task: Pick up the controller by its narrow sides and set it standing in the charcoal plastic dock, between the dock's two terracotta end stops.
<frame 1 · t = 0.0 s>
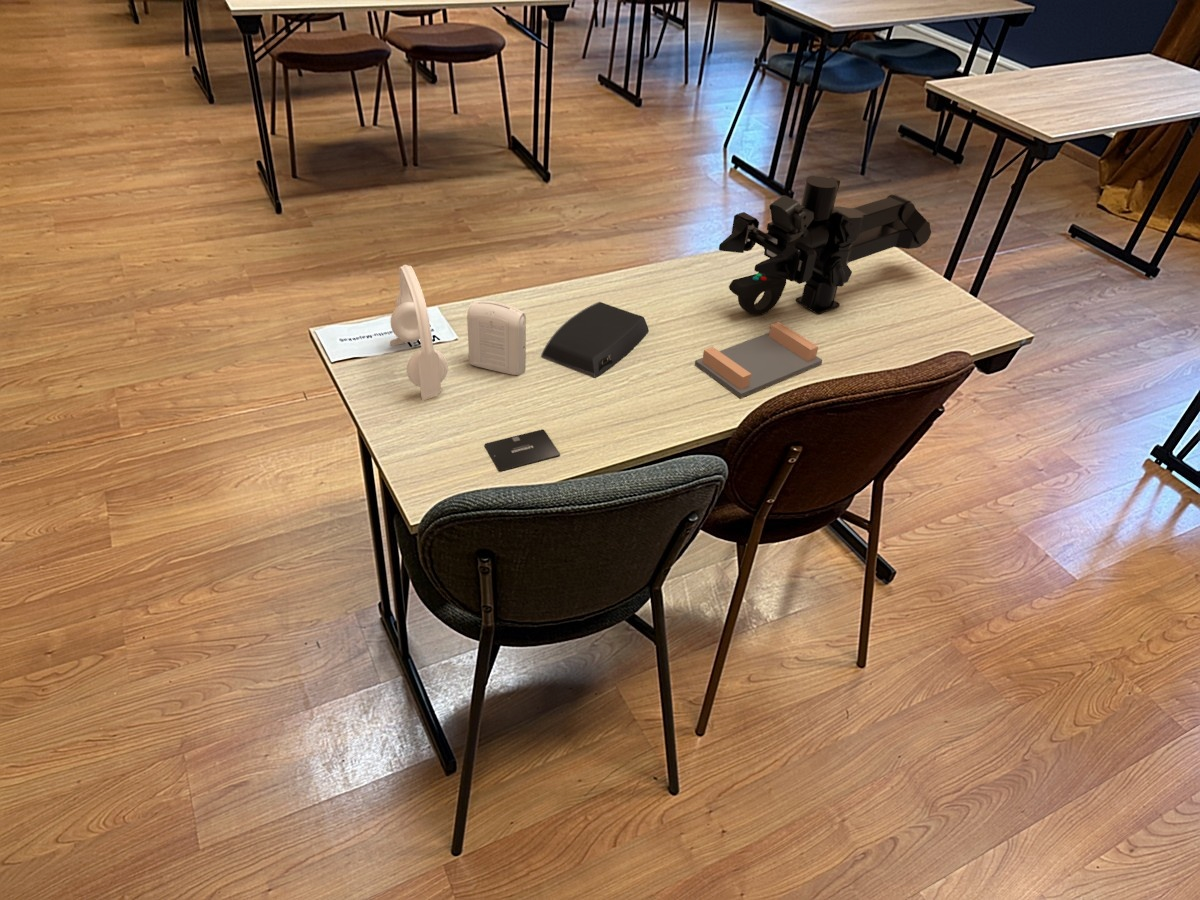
hand: (737, 257, 147), 17 cm above the table, tool horizontal, fingers open, 9 cm apart
controller: (752, 314, 165), on the table
photo printer: (497, 367, 147), on the table
headset: (420, 370, 145), on the table
external hard drive: (596, 346, 154), on the table
solid state drive: (522, 453, 130), on the table
dock: (758, 364, 151), on the table
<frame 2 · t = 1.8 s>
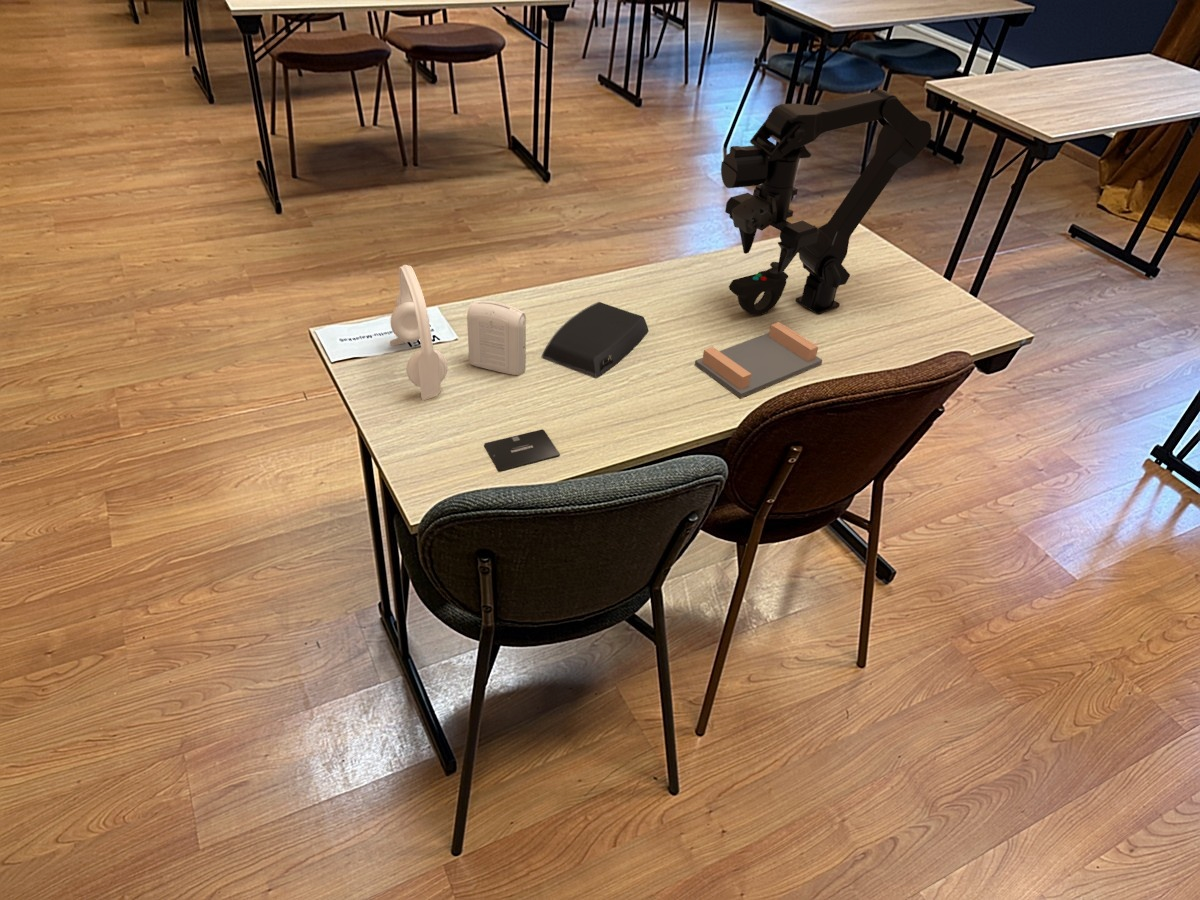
hand: (763, 262, 158), 11 cm above the table, tool pointing down, fingers open, 9 cm apart
nothing on the table moved.
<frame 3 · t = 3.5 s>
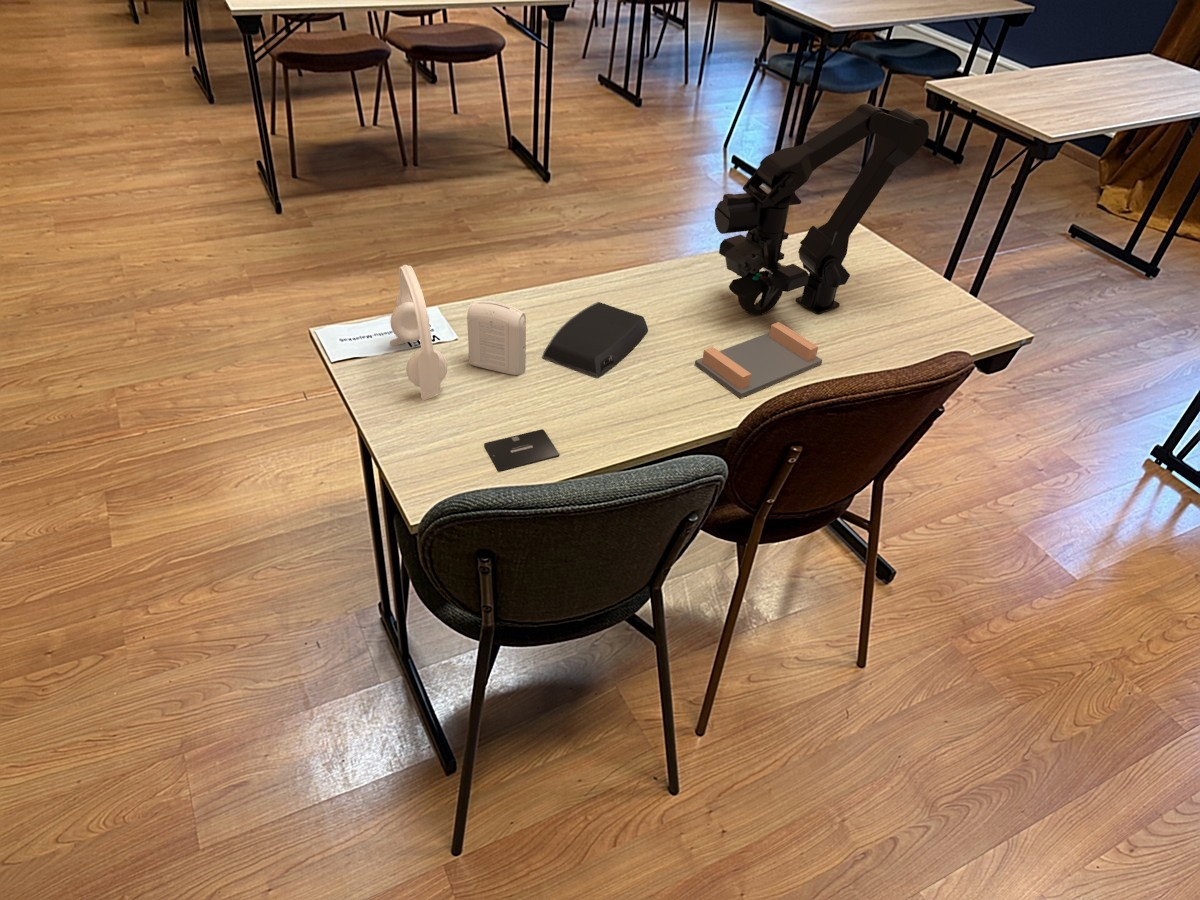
hand: (755, 302, 164), 3 cm above the table, tool pointing down, fingers closed on controller, 4 cm apart
controller: (753, 314, 165), on the table, touching gripper
everything else where it was.
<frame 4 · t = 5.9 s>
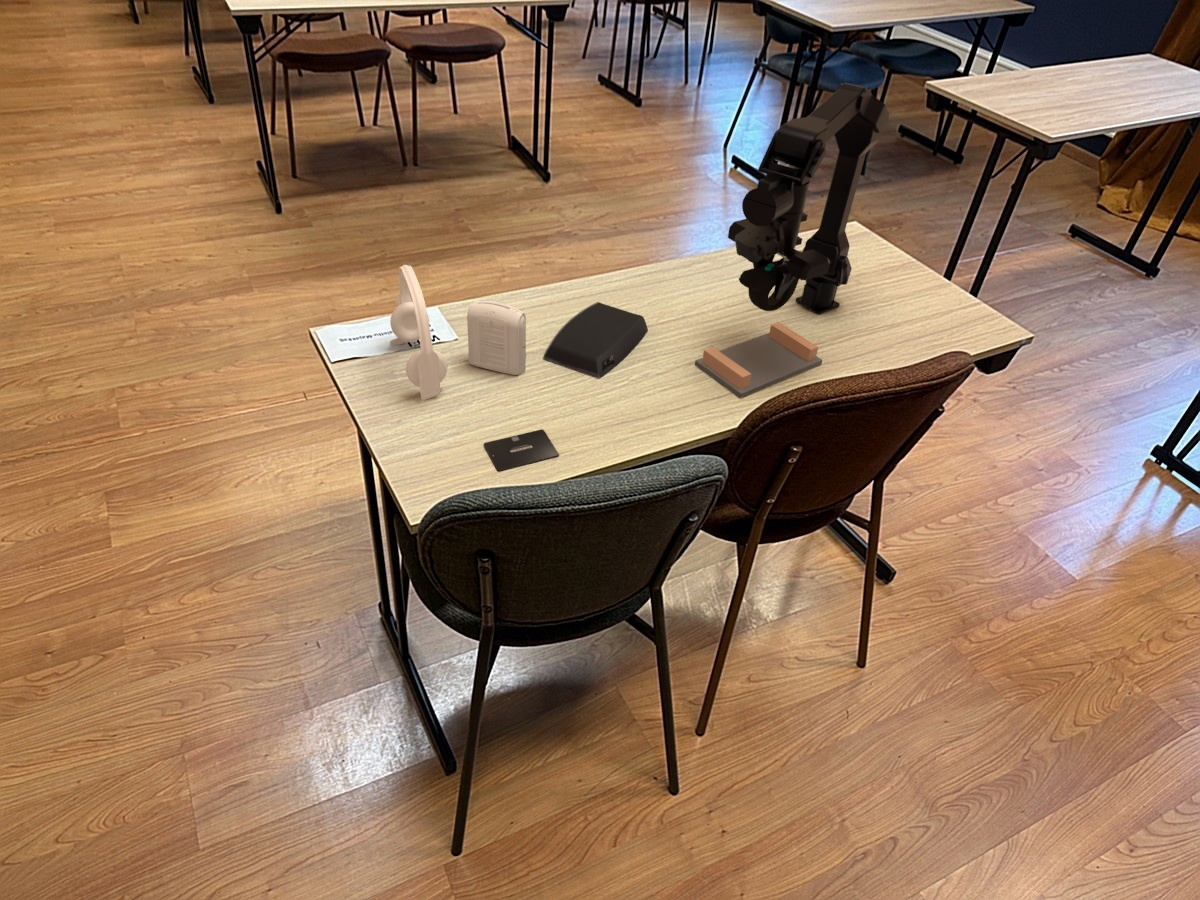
hand: (768, 293, 145), 13 cm above the table, tool pointing down, fingers closed on controller, 4 cm apart
controller: (765, 310, 147), point 10 cm above the table, touching gripper
everything else where it was.
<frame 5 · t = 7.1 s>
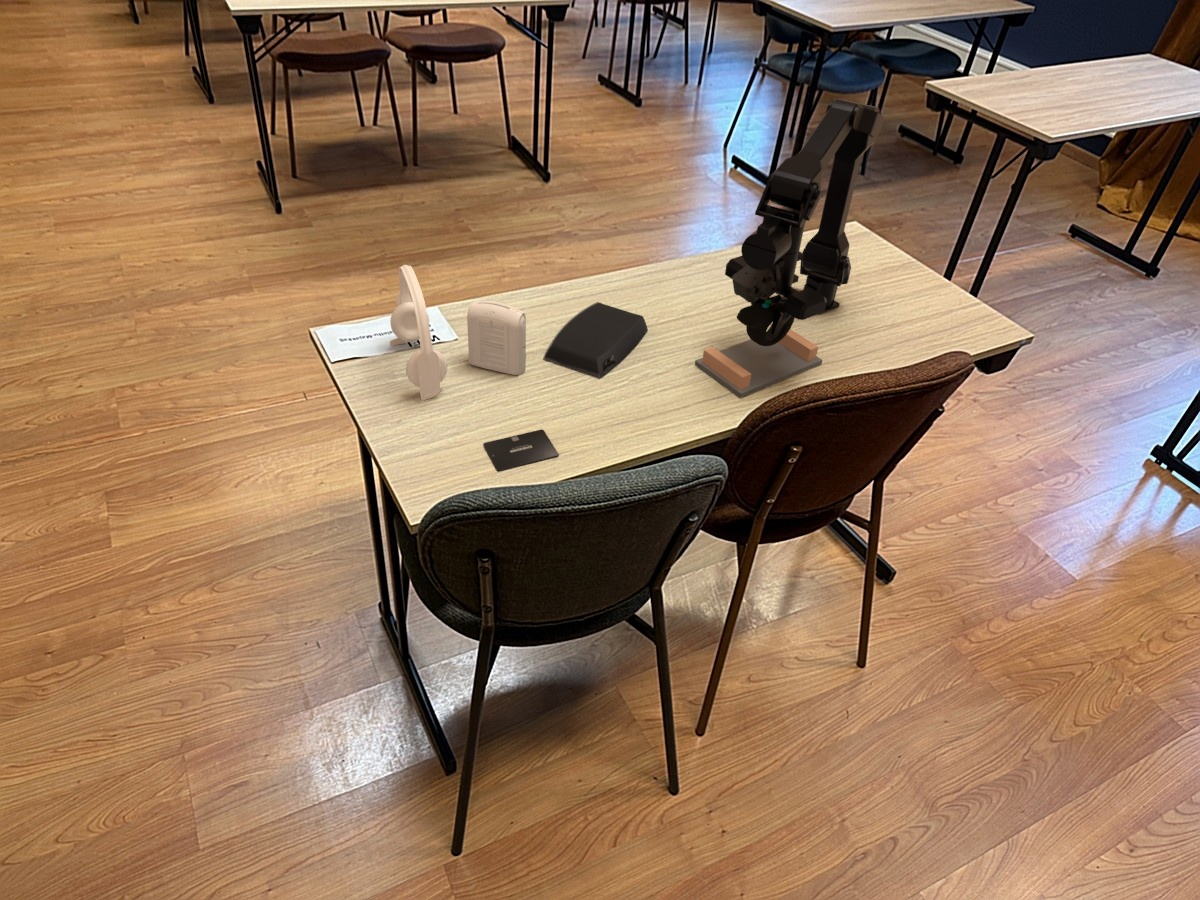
hand: (765, 328, 146), 7 cm above the table, tool pointing down, fingers closed on controller, 4 cm apart
controller: (763, 345, 148), point 4 cm above the table, touching gripper
everything else where it was.
when the fingers open (5 cm above the table, at t = 8.2 s): controller stays where it is, resting on dock.
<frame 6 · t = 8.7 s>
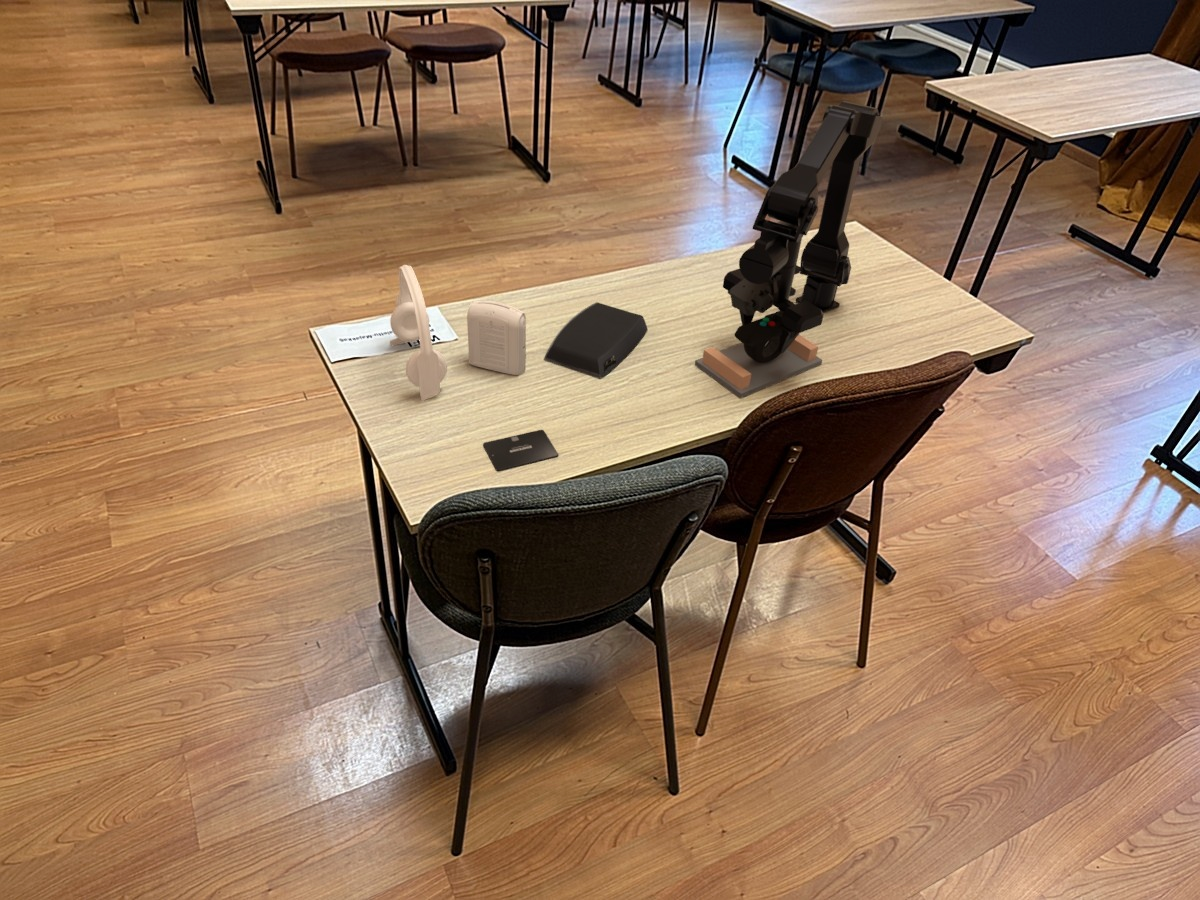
hand: (763, 341, 148), 5 cm above the table, tool pointing down, fingers open, 9 cm apart
controller: (759, 361, 150), point 1 cm above the table, touching dock
everything else where it was.
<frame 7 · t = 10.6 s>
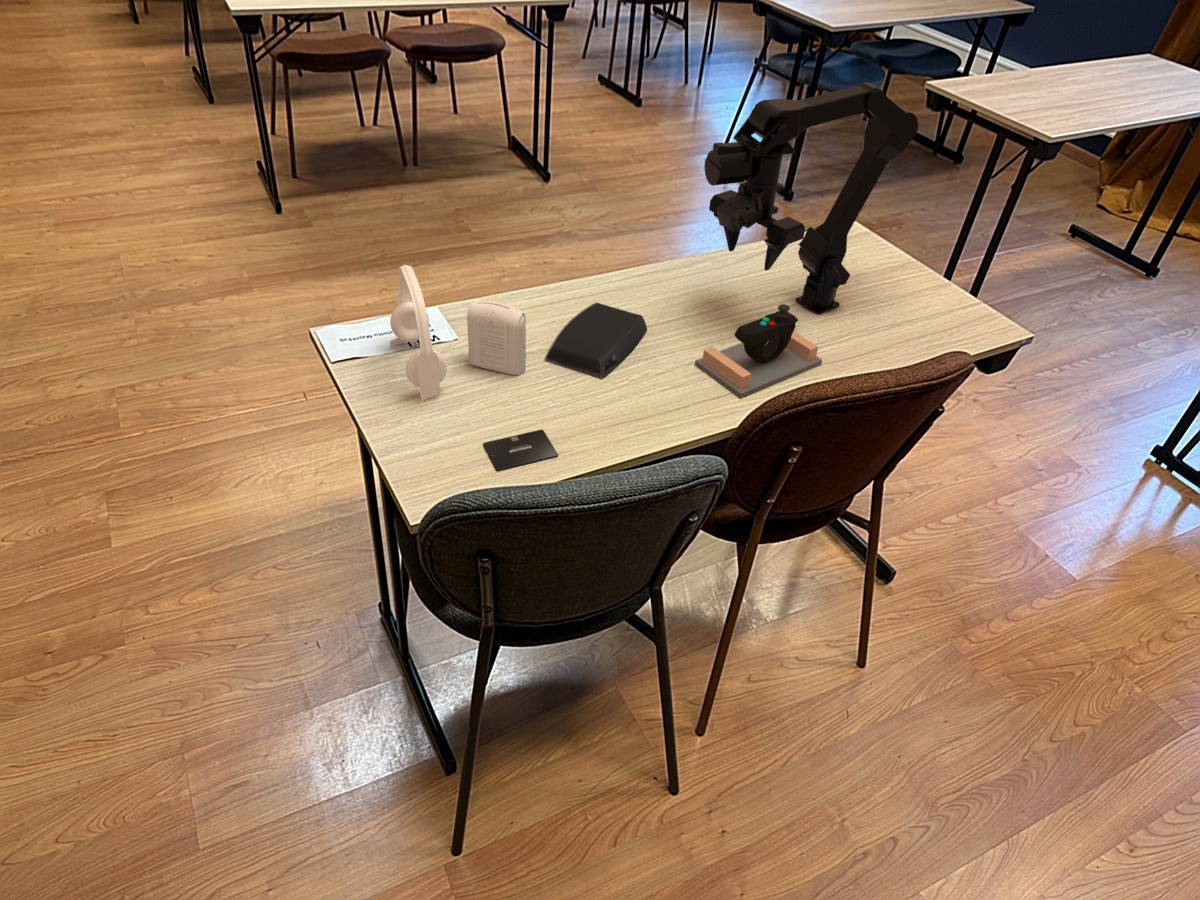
hand: (748, 260, 157), 12 cm above the table, tool pointing down, fingers open, 9 cm apart
nothing on the table moved.
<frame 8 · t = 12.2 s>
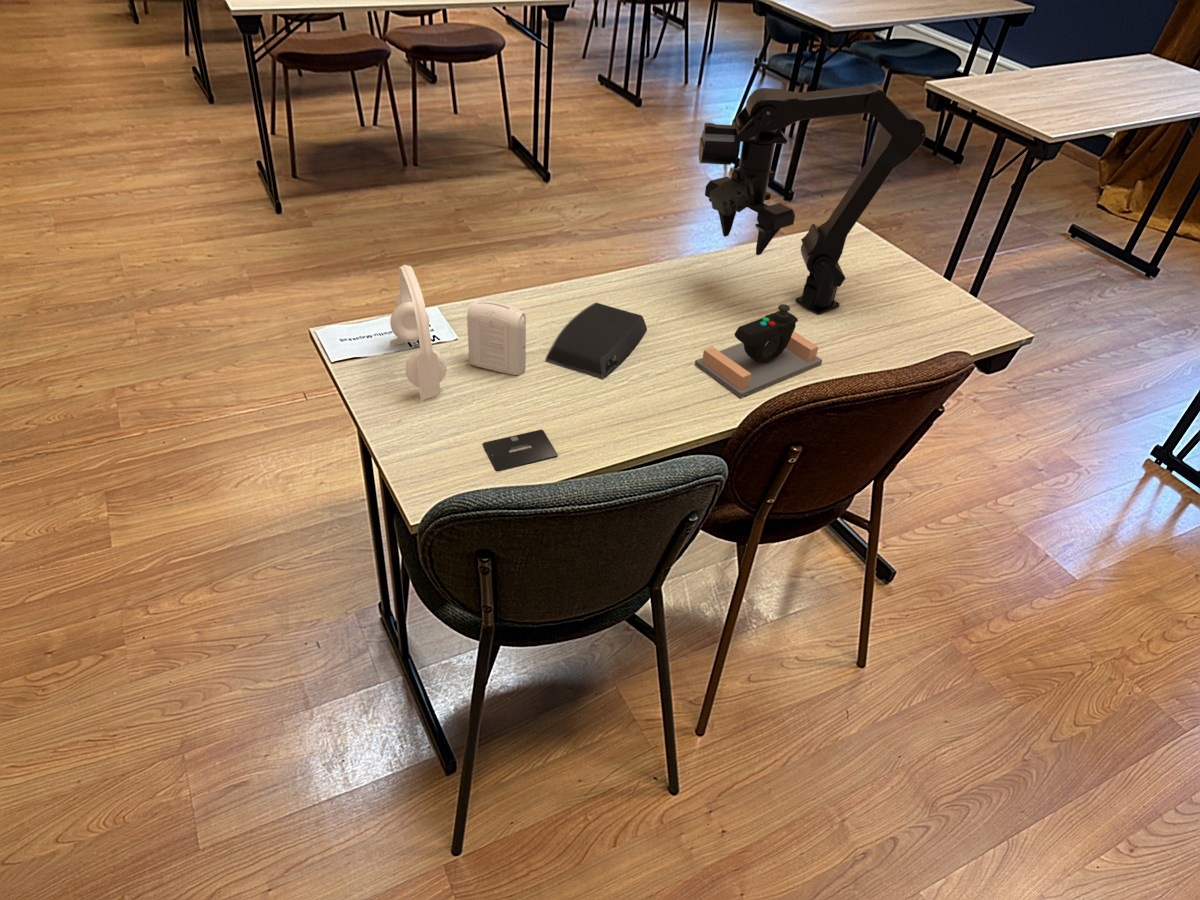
hand: (741, 245, 161), 12 cm above the table, tool pointing down, fingers open, 9 cm apart
nothing on the table moved.
at the end: controller 0.2 cm off-centre on the dock, point 0.8 cm above the dock's base; controller tilted 0°; the gripper is holding nothing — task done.
